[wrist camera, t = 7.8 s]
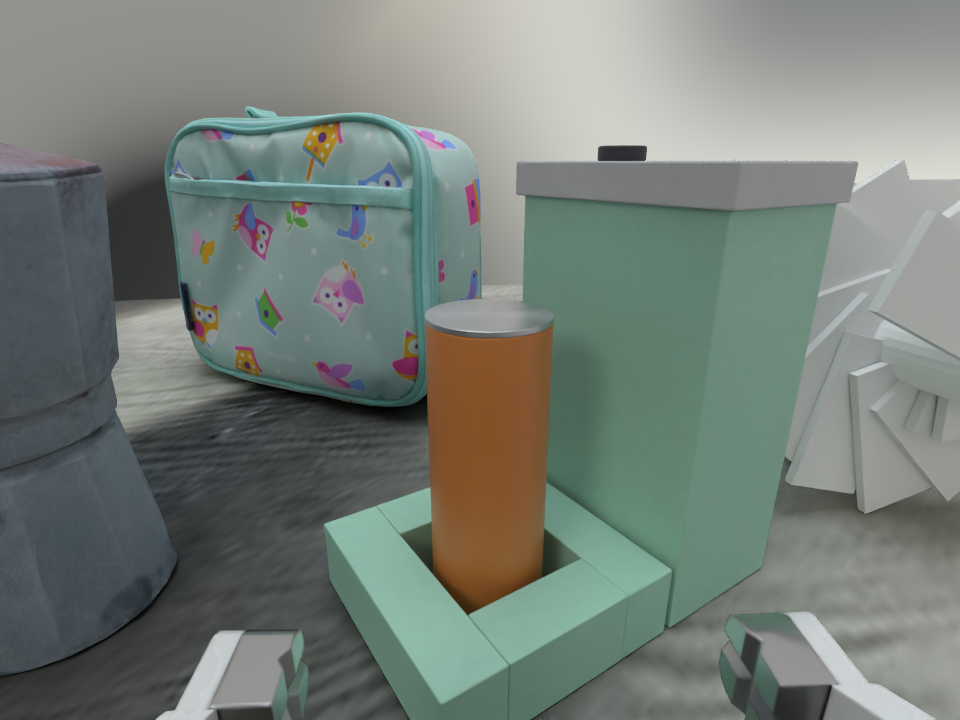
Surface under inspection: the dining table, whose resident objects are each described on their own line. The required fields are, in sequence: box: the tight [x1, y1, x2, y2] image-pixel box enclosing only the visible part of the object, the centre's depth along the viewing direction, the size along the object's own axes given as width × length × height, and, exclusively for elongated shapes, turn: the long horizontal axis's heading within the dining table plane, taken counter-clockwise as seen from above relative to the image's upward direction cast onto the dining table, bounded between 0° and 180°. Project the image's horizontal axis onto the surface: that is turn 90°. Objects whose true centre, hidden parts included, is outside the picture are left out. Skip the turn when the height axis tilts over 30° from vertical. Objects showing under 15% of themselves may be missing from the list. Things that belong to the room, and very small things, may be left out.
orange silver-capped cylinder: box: [424, 299, 554, 616], centre depth 21 cm, size 4×4×12 cm
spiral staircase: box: [730, 160, 960, 514], centre depth 35 cm, size 18×18×25 cm
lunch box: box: [165, 106, 481, 407], centre depth 44 cm, size 27×10×21 cm, turn 63°
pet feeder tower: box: [516, 146, 858, 628], centre depth 25 cm, size 7×11×18 cm, turn 34°
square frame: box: [324, 482, 672, 720], centre depth 23 cm, size 10×10×3 cm
